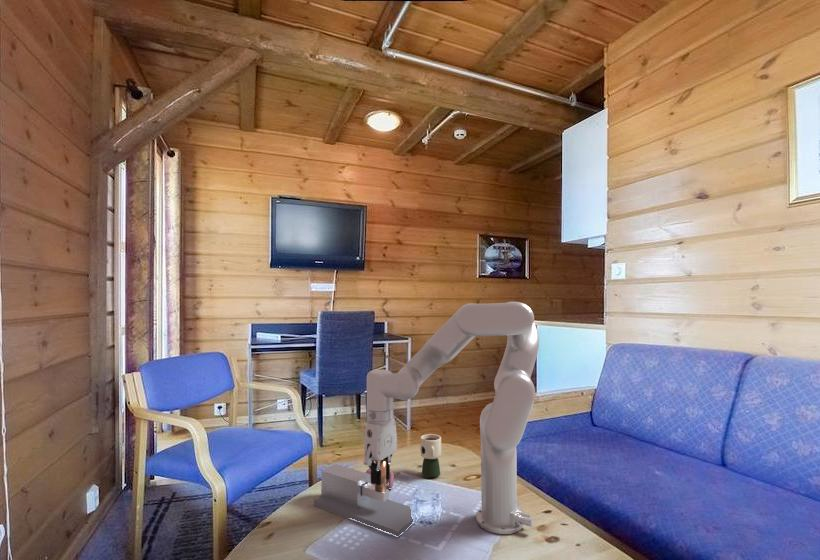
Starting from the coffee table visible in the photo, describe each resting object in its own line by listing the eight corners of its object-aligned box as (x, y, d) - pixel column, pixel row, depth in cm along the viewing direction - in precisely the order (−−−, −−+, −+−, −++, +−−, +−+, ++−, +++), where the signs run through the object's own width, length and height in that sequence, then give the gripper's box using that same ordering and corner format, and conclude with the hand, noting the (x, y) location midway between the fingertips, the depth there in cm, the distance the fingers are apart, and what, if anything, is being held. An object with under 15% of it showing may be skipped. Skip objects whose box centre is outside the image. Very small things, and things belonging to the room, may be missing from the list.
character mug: (419, 469, 144) (418, 432, 144) (438, 468, 144) (438, 431, 145) (422, 483, 133) (422, 443, 134) (443, 482, 134) (443, 442, 134)
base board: (422, 516, 113) (422, 510, 113) (398, 538, 103) (398, 531, 103) (341, 489, 129) (341, 484, 129) (313, 505, 119) (313, 500, 119)
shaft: (389, 497, 114) (389, 460, 114) (382, 502, 111) (382, 464, 111) (335, 480, 125) (335, 446, 125) (328, 484, 122) (328, 449, 122)
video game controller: (394, 491, 131) (395, 467, 134) (392, 490, 127) (393, 466, 130) (364, 490, 132) (365, 466, 135) (361, 489, 128) (363, 465, 131)
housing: (370, 499, 119) (370, 474, 119) (357, 508, 114) (357, 482, 114) (335, 488, 126) (335, 463, 127) (321, 495, 121) (321, 470, 122)
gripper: (372, 424, 105) (373, 496, 105) (407, 409, 119) (407, 473, 118) (350, 420, 109) (350, 489, 109) (386, 406, 123) (386, 467, 122)
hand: (380, 480), depth 113 cm, fingers closed on shaft, 3 cm apart
